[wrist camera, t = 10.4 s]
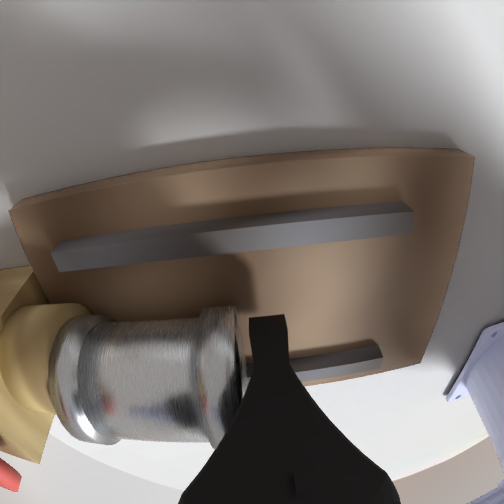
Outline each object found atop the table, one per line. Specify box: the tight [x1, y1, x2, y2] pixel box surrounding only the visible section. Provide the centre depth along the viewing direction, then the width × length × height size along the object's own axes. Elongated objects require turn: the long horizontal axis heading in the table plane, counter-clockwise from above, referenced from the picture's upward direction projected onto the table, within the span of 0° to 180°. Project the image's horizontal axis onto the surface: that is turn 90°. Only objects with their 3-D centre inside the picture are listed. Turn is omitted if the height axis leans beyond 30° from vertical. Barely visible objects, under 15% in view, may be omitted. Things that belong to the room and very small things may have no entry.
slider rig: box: [0, 148, 474, 492], centre depth 9 cm, size 22×11×9 cm, turn 96°
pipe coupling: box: [48, 306, 248, 449], centre depth 10 cm, size 6×5×5 cm
